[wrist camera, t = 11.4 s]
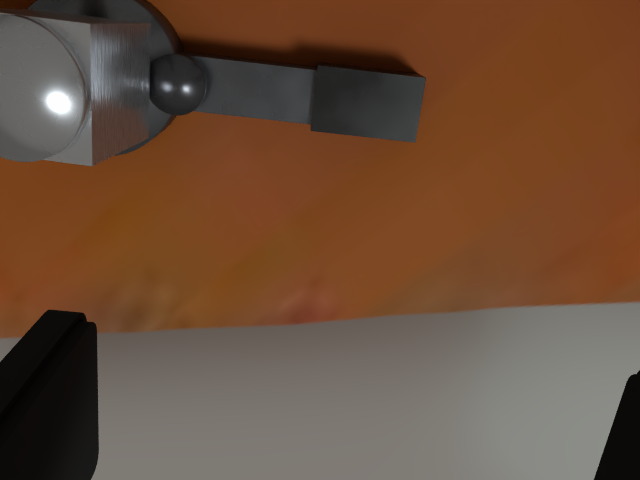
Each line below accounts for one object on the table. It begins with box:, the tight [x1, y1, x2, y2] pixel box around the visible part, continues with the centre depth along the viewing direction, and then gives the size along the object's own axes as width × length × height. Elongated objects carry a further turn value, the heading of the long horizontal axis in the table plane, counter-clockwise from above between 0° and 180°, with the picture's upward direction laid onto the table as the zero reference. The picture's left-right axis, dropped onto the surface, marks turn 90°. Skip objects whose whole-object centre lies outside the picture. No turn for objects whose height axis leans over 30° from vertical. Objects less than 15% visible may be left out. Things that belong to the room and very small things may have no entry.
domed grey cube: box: [0, 8, 151, 166], centre depth 29 cm, size 6×6×8 cm
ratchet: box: [28, 0, 426, 156], centre depth 33 cm, size 22×9×7 cm, turn 84°
